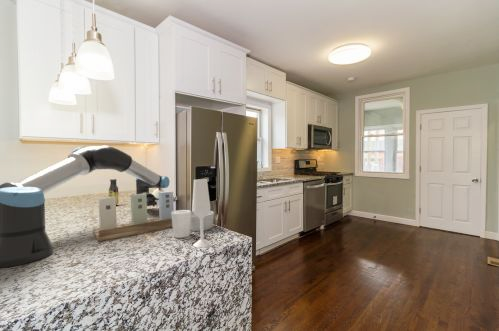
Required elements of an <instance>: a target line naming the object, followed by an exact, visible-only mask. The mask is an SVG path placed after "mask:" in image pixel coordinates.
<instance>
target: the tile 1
mask: <svg viewBox="0 0 499 331" xmlns="http://www.w3.org/2000/svg"><path fill="white" fill-rule="evenodd" d="M98 221H99V222H98V223H99V228H100V230H105V229H111V228H117V222H118V221H117V206H116V197H109V196H107V197H105V196H104V197H98Z"/></svg>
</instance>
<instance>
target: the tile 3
mask: <svg viewBox="0 0 499 331" xmlns="http://www.w3.org/2000/svg"><path fill="white" fill-rule="evenodd" d="M164 191H165V192H159V206H158V212H159V214H158V215H159V216H158V218H159V220H164V219H170V218H172V216H171V212H173V211H175V209H174V191H172V190H167V191H166V190H164Z"/></svg>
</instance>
